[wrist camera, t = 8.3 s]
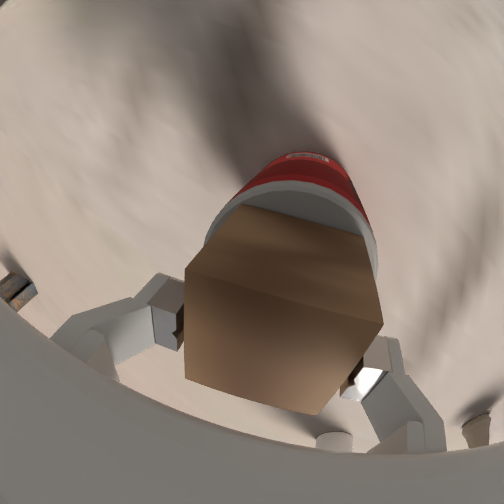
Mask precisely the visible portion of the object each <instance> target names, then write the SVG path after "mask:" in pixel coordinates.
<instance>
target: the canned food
mask: <svg viewBox="0 0 504 504" xmlns="http://www.w3.org/2000/svg"><path fill="white" fill-rule="evenodd" d="M240 204H246V205H252V206H256V207H260V208H263V209H267V210H271V211H275V212H279V213H283V214H286V215H290V216H294V217H298V218H301V219H305V220H308V221H312V222H316V223H319V224H323V225H326V226H330V227H333V228H336V229H340V230H343V231H347V232H350V233H353V234H357V235H360V236H362V237H364V240H365V243H366V247H367V251H368V255H369V258H370V262H371V266H372V270H373V275H374V279H375V280H376V277H377V269H378V255H377V246H376V240H375V238H374V235H373V231H372V228H371V226H370V223H369V220H368V218H367V215H366V213H365V211H364V208H363V206H362V204H361V201H360V199H359V197H358V195H357V192H356V190H355V188H354V186H353V184H352V181H351V179H350V177H349V176H348V174H347V173H346V172H345V170H344V169H343V168H342V167H341V166H340V165H339V164H338V163H336V162H335V161H333V160H332V159H330V158H328V157H327V156H324V155H321V154H318V153H313V152H294V153H290V154H287V155H284V156H282V157H280V158H278V159H276V160H274V161H273V162H272V163H270V164H269V165H268V166H267V167H265V168H264V169H263V170H262V171H261V172H260V173H259V174H258V175H256V176H255V177H254V178H253V179H252V180H251V181H250V182H249V183H248V184H247V185H246V186H244V187H243V188H242V189H241V190H240V191H239V192H238V193H237V194H236V195H235V196H234V197H233V198H232V199H231V200H230V201H229V202H228V203H227V204H226V205H225V206H224V208H223V209H222V210H221V211H220V212H219V214H218V215H217V216H216V218H215V220H214V221H213V222H212V224H211V226H210V229H209V231H208V233H207V235H206V238H205V242H204V246H205V244H206V243H207V242H208V241H209V240H210V239H211V238H212V236H213V235H214V234H215V233H216V232H217V231H218V229H219V228H220V227H221V226H222V225H223V224H224V223H225V221H226V220H227V219H228V218H229V217H230V216H231V215H232V213H233V212H234V211H235V210H236V209H237V208H238V207H239V206H240Z"/></svg>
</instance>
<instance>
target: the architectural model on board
mask: <svg viewBox="0 0 504 504" xmlns="http://www.w3.org/2000/svg"><path fill="white" fill-rule="evenodd" d="M28 282H29V280H27V279H24V278H22V277H20V276H18V275H16V274H15V273H13V272H11V273H10V274H8V275H7V276H6V277H4V278H3V279H2V280H1V281H0V298H1V299H2V300H3V301H4V302H6V303H7V304H8V305H9V306H10V307H11V308H12V309H13V310H14V311H16V312H18V311H19V310H20V309H21V308H22V307H23V306H24V305H26V304H27V303H28V302H29V301H30V300H31V299H32V298H33V297H34V296H36V295H37V294H38V292H37V290H36V287H35V285H34V283H31V284H30V285H29V286H28V287H26V286H25V285H26V284H27V283H28Z"/></svg>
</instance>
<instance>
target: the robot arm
mask: <svg viewBox="0 0 504 504" xmlns="http://www.w3.org/2000/svg"><path fill="white" fill-rule="evenodd" d="M184 282H185V281H182V280H179V279H177V278H174V277H170V276H168V275H165V274H162V273H157V274H156V275H155V276H154V277H153V278H152V279H151V280H150V281H149V282H148V283H147V284H146V285H145V286H144V287H143V289H142V290H141V291H140V292H139V293H138V294H137V295H136V296H135V297H134V298H131V297H129V298H126V299H122V300H119V301H116V302H113V303H110V304H107V305H104V306H100V307H97V308H94V309H91V310H88V311H85V312H81V313H78V314H75V315H72V316H71V317H70V318H69V319H68V320H67V321H66V322H65V323H64V324H63V325H62V326H61V327H60V328H59V329H58V330H57V331H56V332H55V333H54V334H53V336H52V337H51V338H50V339H49V338H48V337H47V336H45V335H44V334H43V333H41V332H40V331H39V330H37V329H36V328H35V327H34V326H32V325H31V324H30V323H29V322H27V321H26V320H25V319H24V318H23V317H21V316H20V315H19V314H18V313H17V312H16V311H14V310H13V309H12V308H11V307H10V306H9V305H8V304H7V303H6V302H4V301H3V300H2V299H1V298H0V504H504V442H500V443H495V444H491V445H486V446H481V447H476V448H470V449H463V450H456V451H448V452H447V447H446V438H445V430H444V422H443V420H442V418H441V417H440V416H439V414H438V413H437V412H436V410H435V409H434V408H433V406H432V405H431V404H430V402H429V401H428V400H427V398H426V397H425V396H424V394H423V393H422V392H421V391H420V389H419V388H418V387H417V385H416V384H415V383H414V382H413V380H412V379H411V378H410V376H409V375H405V371H404V365H403V359H402V354H401V349H400V344H399V341H398V339H396V338H391V337H386V336H385V337H384V336H380V335H377V336H376V337H375V339H374V340H373V342H372V343H371V345H370V346H369V348H368V349H367V351H366V352H365V354H364V355H363V357H362V358H361V359H360V361H359V362H358V364H357V365H356V366H355V368H354V369H353V370H352V372H351V373H350V375H349V376H348V377H347V379H346V380H345V381H344V382H343V384H342V385H341V386H340V398H345V399H350V400H355V401H361V404H362V406H363V408H364V410H365V412H366V414H367V416H368V418H369V420H370V422H371V424H372V426H373V428H374V430H375V432H376V434H377V436H378V438H379V441H380V443H379V444H378V445H376V446H375V447H373V448H372V449H370V450H369V451H368V452H367V453H353V452H342V451H333V450H325V449H318V448H311V447H305V446H300V445H294V444H289V443H284V442H279V441H275V440H271V439H266V438H262V437H258V436H254V435H251V434H247V433H243V432H240V431H236V430H233V429H230V428H226V427H223V426H220V425H217V424H214V423H211V422H208V421H205V420H203V419H200V418H197V417H194V416H192V415H189V414H187V413H184V412H181V411H179V410H176V409H174V408H172V407H169V406H167V405H165V404H162V403H160V402H158V401H156V400H153V399H151V398H149V397H147V396H145V395H143V394H141V393H139V392H137V391H135V390H133V389H131V388H129V387H127V386H125V385H123V384H121V383H119V382H120V380H119V376H118V374H117V371H116V369H115V366H116V365H117V364H119V363H121V362H123V361H125V360H127V359H129V358H131V357H133V356H135V355H137V354H138V353H140V352H142V351H144V350H146V349H148V348H150V347H151V346H153V345H155V343H156V344H158V345H161V346H164V347H166V348H169V349H172V350H174V351H178V350H179V348H180V346H181V345H182V343H183V341H184Z"/></svg>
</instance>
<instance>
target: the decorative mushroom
mask: <svg viewBox="0 0 504 504" xmlns="http://www.w3.org/2000/svg"><path fill="white" fill-rule="evenodd" d="M490 421H491V418H490V417H489V415H488V414H484V415H481V416H479V417H476V418H475V419H473V420H471V421H470V422H468V423H467V424H465V425H464V427H463V430H462V435H463V436H464V438H465V439H466V441H467V443H468V446H469V449H470V448H476V447H481V446H486V445H489V426H490Z"/></svg>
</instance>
